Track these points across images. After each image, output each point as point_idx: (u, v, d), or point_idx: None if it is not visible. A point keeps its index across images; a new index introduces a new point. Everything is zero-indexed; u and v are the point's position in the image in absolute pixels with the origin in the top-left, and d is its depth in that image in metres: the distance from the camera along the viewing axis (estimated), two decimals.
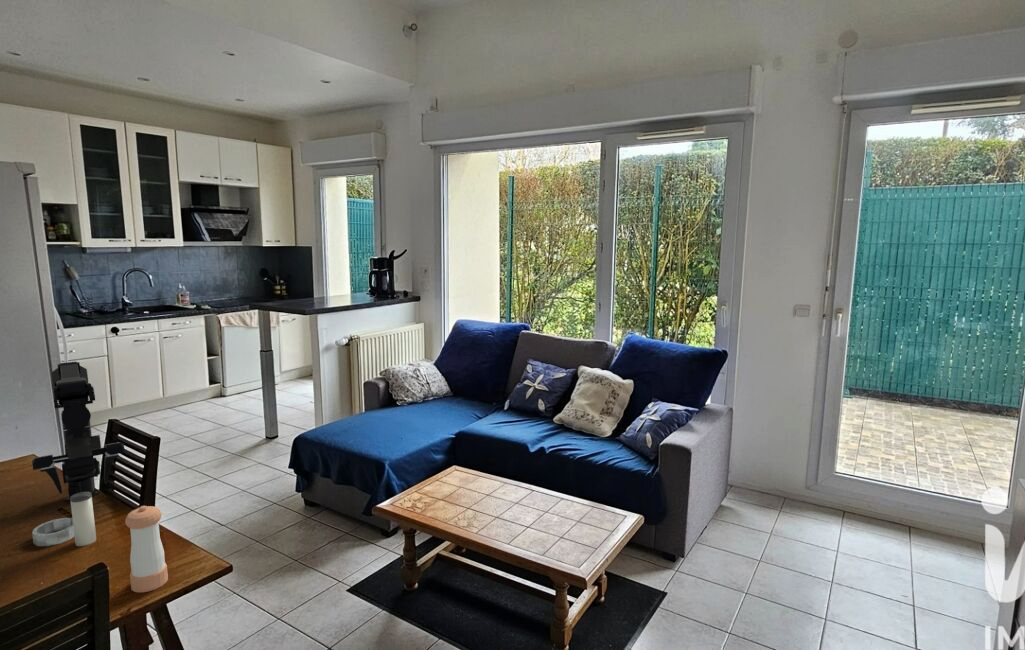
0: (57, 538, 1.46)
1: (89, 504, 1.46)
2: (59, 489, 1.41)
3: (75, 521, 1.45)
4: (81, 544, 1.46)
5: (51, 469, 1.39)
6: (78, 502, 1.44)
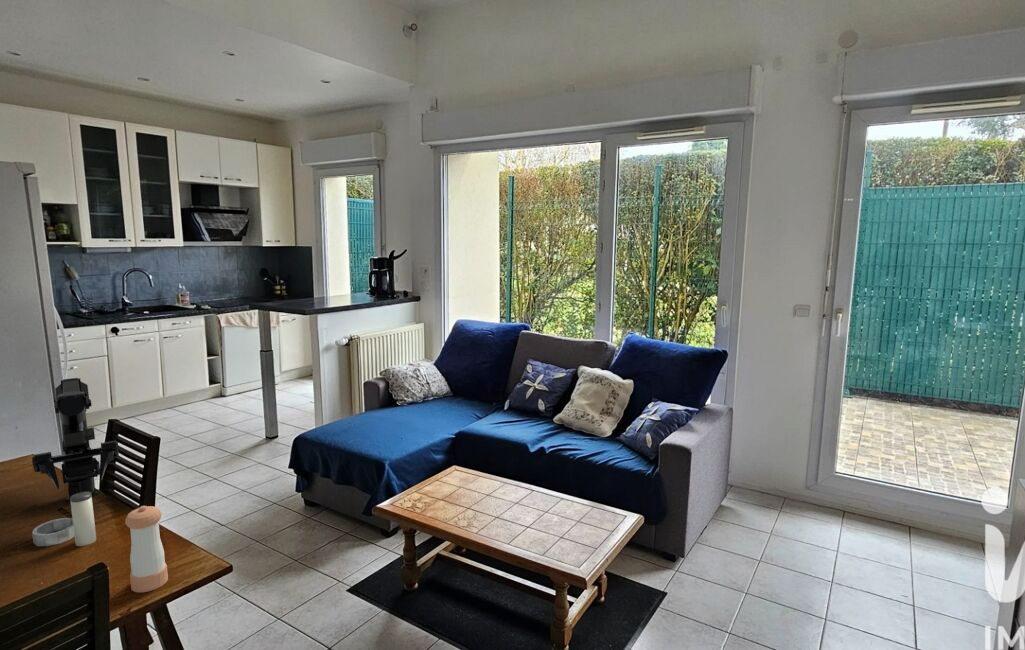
0: (57, 538, 1.46)
1: (89, 504, 1.46)
2: (56, 483, 1.49)
3: (75, 521, 1.45)
4: (81, 544, 1.46)
5: (49, 462, 1.49)
6: (78, 502, 1.44)
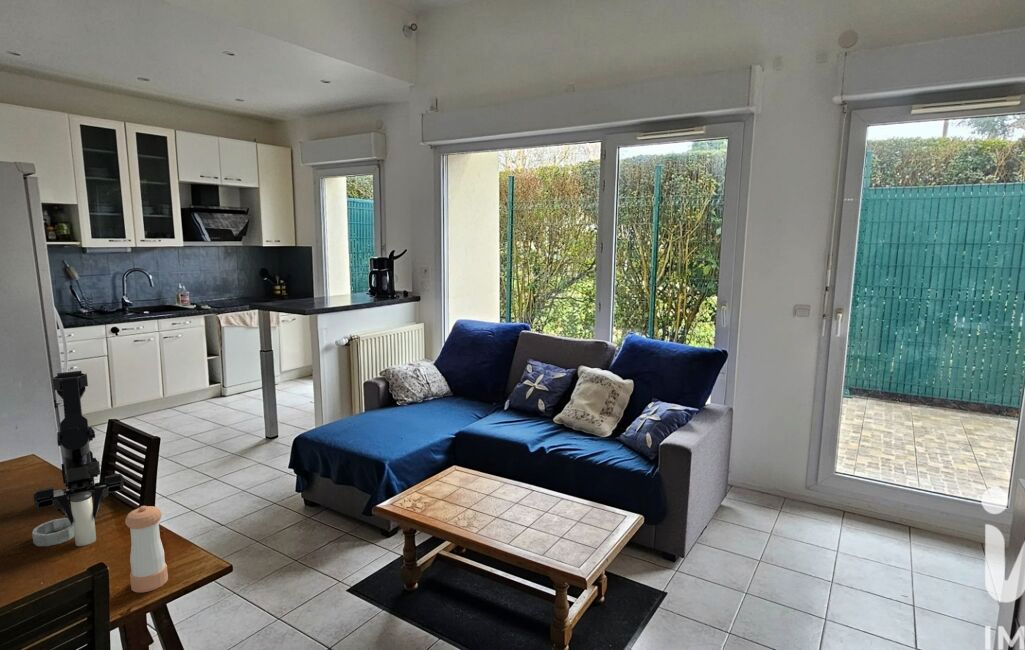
0: (57, 538, 1.46)
1: (89, 504, 1.46)
2: (70, 518, 1.44)
3: (75, 521, 1.45)
4: (81, 544, 1.46)
5: (62, 496, 1.45)
6: (78, 501, 1.44)
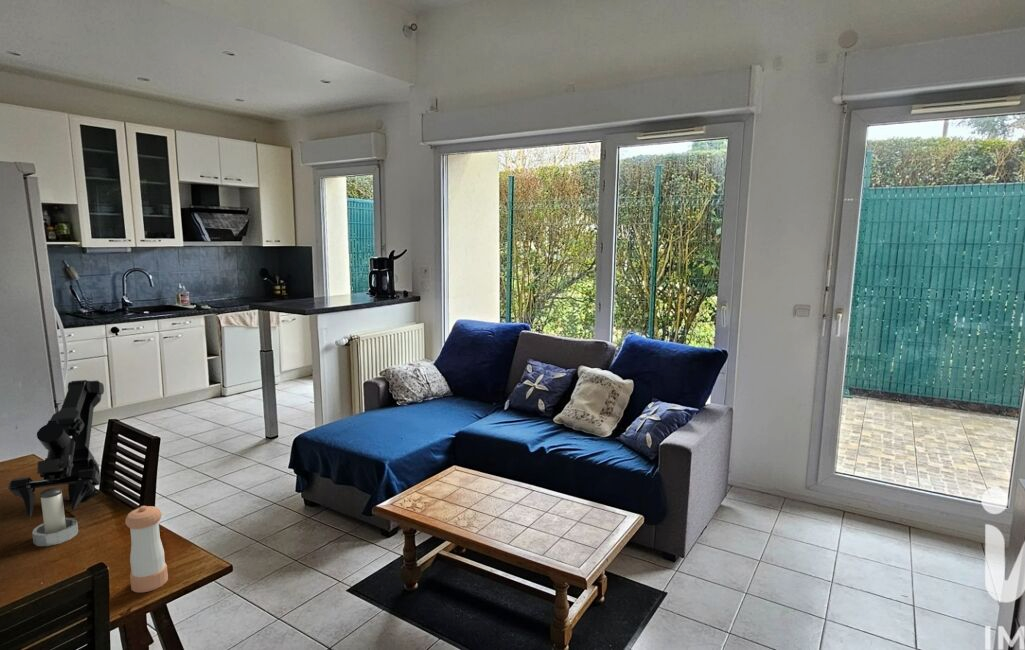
0: (57, 538, 1.46)
1: (57, 501, 1.48)
2: (28, 511, 1.46)
3: (43, 516, 1.47)
4: None
5: (23, 488, 1.46)
6: (46, 497, 1.46)
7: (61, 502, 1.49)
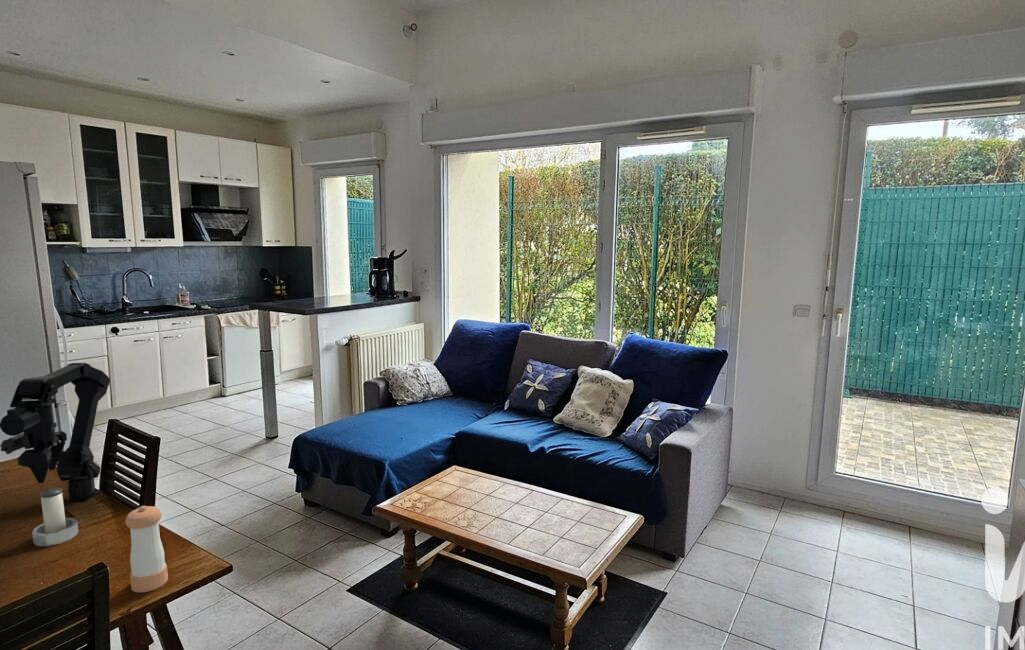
0: (57, 538, 1.46)
1: (57, 501, 1.48)
2: (48, 466, 1.61)
3: (43, 516, 1.47)
4: None
5: None
6: (46, 497, 1.46)
7: (61, 502, 1.49)
